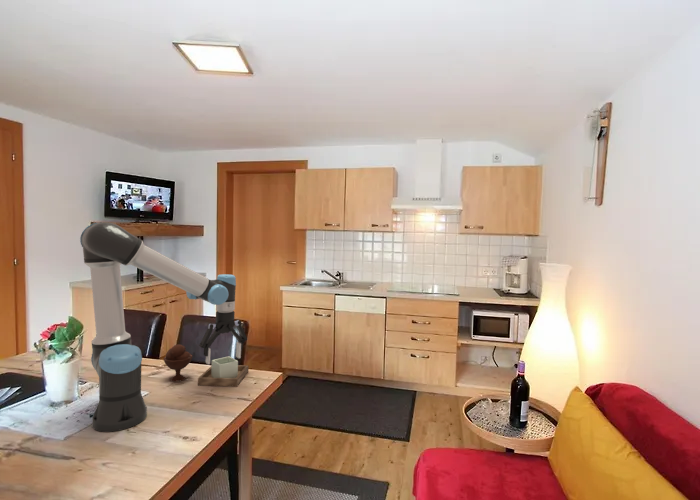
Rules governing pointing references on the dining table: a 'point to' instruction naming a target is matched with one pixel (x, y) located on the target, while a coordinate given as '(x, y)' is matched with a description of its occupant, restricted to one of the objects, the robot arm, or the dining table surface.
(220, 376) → the sage crate
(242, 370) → the walnut tray
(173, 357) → the ice cream bowl
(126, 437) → the dining table surface
